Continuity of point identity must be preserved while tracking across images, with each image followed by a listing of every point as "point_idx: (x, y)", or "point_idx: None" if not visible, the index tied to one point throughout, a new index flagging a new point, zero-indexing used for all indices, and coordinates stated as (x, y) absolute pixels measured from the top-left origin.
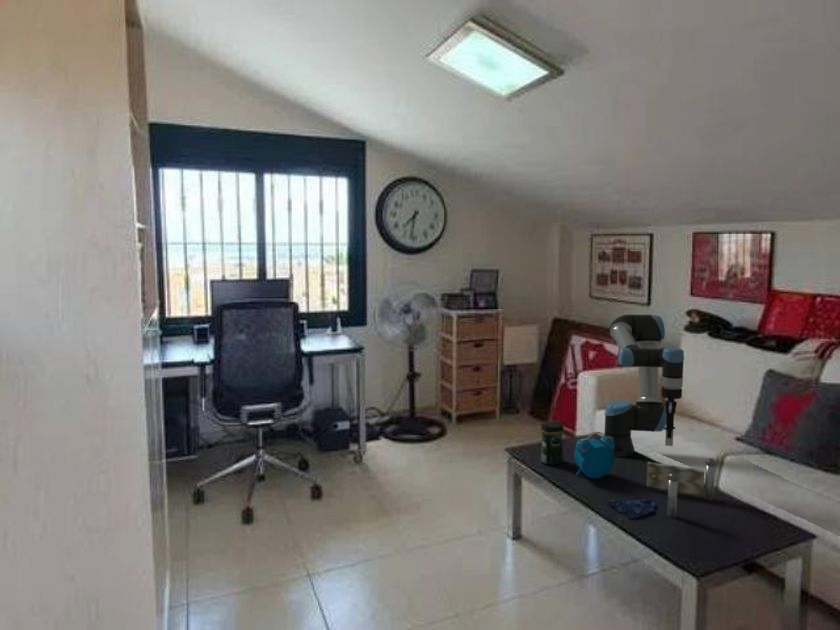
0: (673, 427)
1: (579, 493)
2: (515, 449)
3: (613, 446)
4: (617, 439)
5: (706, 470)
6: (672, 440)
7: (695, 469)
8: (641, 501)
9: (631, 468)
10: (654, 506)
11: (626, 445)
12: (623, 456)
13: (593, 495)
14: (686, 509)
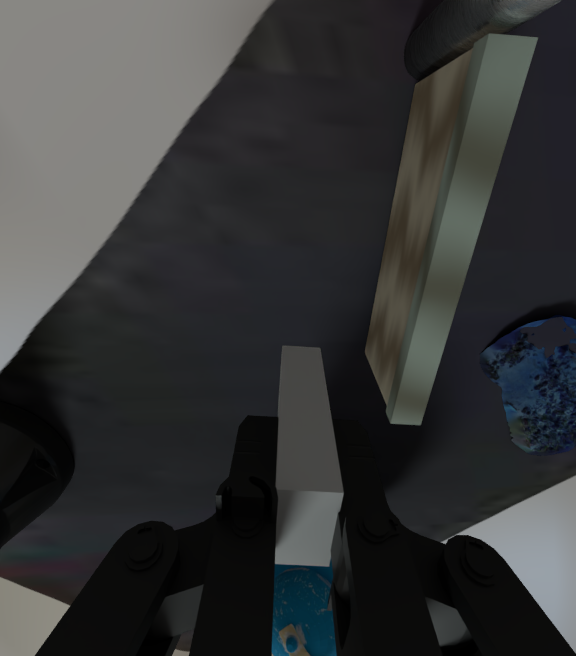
0: (260, 519)
1: (463, 515)
2: (189, 649)
3: (324, 593)
4: (3, 515)
5: (549, 7)
6: (325, 386)
7: (480, 122)
8: (513, 361)
9: (169, 400)
10: (552, 317)
11: (1, 460)
12: (55, 432)
13: (472, 485)
14: (568, 186)
